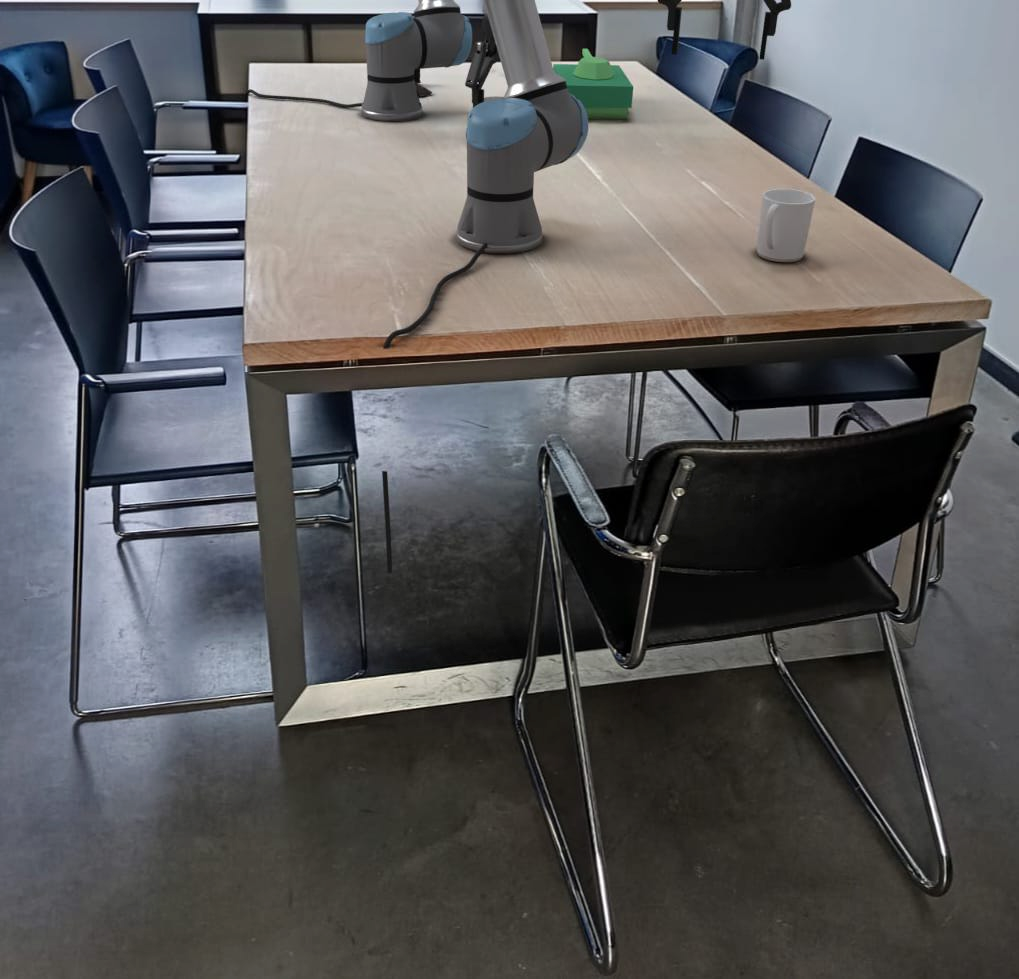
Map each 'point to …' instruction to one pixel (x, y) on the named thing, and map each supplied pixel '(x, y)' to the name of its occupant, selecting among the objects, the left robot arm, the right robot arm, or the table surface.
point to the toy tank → (598, 86)
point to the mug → (784, 224)
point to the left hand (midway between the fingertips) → (497, 113)
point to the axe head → (420, 89)
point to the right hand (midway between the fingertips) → (717, 55)
